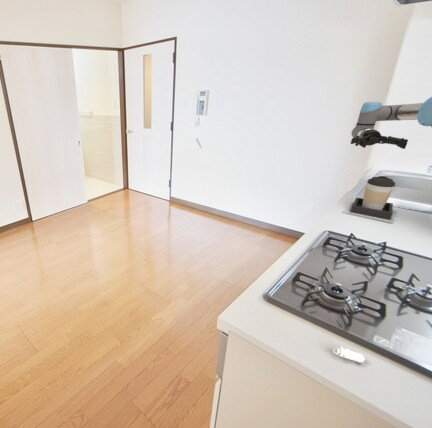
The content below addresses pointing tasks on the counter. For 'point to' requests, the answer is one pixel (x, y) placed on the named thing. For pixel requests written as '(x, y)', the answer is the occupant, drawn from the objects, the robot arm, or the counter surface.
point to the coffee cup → (377, 192)
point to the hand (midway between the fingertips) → (384, 145)
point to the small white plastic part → (348, 354)
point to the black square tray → (383, 213)
